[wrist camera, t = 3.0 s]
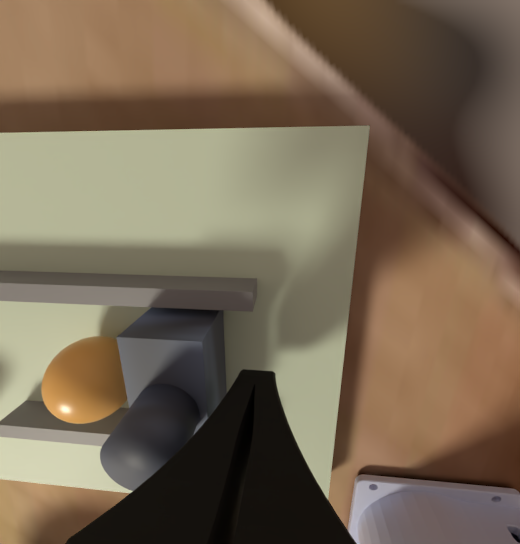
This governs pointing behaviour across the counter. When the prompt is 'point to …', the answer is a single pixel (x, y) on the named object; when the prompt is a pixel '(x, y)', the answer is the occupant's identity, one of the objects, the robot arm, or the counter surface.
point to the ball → (85, 381)
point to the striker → (165, 389)
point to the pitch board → (175, 268)
